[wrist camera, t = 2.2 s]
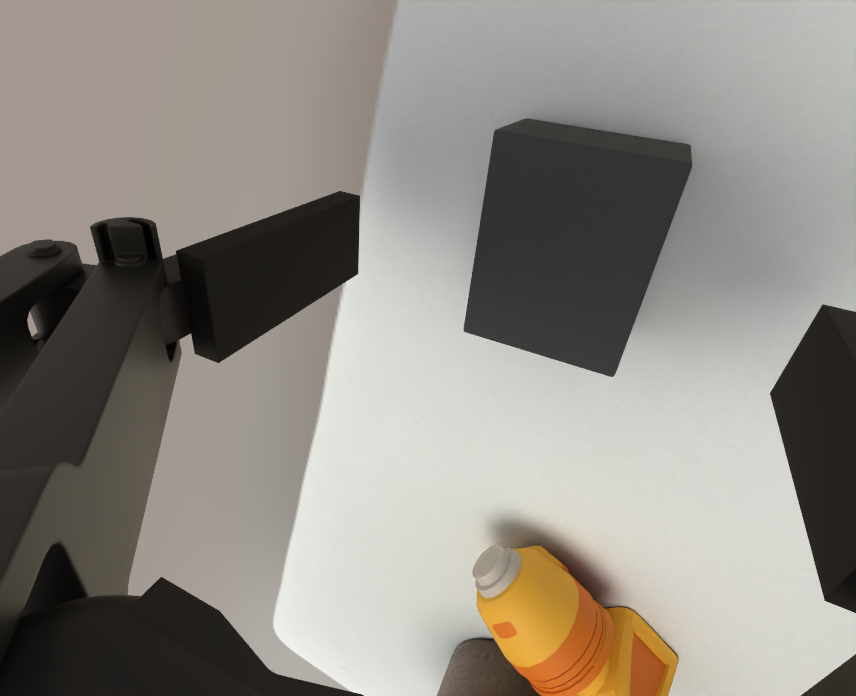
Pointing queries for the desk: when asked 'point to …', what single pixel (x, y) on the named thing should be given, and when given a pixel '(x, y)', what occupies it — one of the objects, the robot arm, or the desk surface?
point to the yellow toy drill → (566, 629)
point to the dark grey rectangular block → (571, 238)
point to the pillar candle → (483, 673)
